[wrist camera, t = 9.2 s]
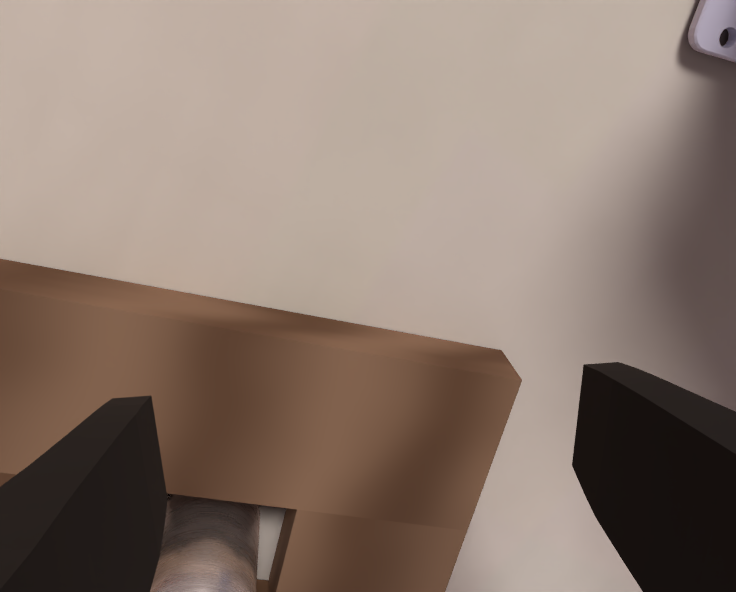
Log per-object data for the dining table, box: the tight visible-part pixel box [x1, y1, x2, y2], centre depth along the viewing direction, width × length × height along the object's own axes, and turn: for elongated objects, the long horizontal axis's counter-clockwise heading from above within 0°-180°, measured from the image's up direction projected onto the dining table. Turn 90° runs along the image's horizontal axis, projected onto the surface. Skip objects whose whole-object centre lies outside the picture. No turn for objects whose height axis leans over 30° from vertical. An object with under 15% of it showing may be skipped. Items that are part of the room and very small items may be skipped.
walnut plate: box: [0, 259, 522, 592], centre depth 22 cm, size 16×16×2 cm
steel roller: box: [150, 494, 260, 592], centre depth 20 cm, size 3×3×6 cm
